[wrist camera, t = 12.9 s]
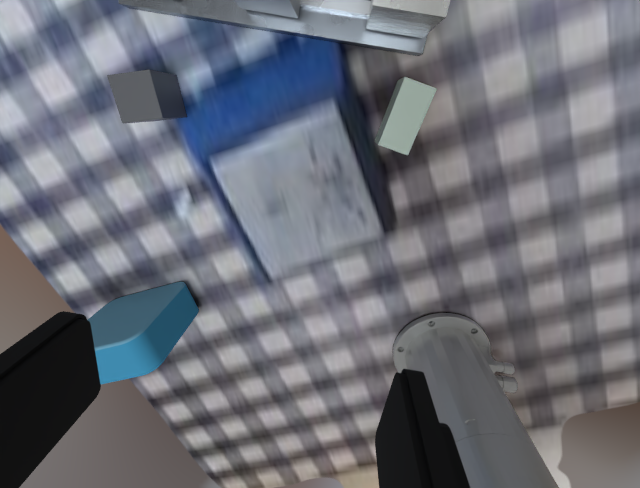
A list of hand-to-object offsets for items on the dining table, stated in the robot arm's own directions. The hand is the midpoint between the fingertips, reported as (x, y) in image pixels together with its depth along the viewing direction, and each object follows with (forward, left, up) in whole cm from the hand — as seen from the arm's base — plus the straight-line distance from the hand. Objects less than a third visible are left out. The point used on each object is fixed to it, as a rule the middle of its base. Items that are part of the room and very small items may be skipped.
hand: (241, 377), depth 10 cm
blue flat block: (+19, +20, -29) cm, 40 cm away
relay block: (+17, -6, -28) cm, 34 cm away
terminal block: (-7, -8, -28) cm, 31 cm away
